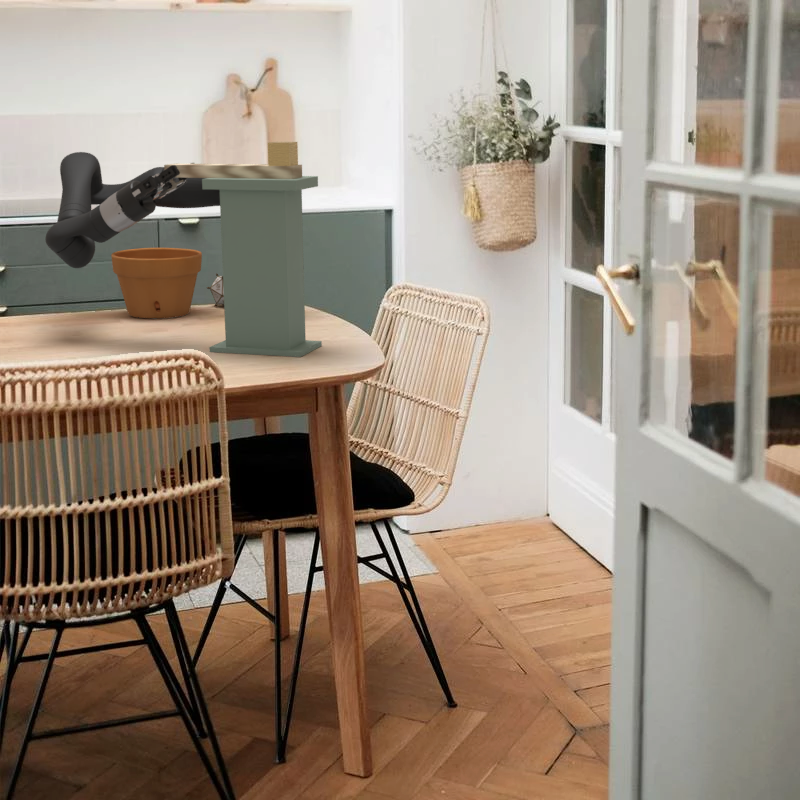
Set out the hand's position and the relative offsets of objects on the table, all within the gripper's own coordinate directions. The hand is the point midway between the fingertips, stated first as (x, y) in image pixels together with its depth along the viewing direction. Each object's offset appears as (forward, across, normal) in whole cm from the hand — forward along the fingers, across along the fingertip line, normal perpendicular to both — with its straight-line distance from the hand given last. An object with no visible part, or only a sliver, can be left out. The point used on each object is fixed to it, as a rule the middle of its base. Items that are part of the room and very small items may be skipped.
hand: (186, 167), depth 264 cm
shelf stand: (-5, 0, -40) cm, 40 cm away
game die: (-32, -48, -24) cm, 63 cm away
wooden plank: (+8, 0, -7) cm, 10 cm away
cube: (+19, 0, -10) cm, 21 cm away
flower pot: (-41, -33, -19) cm, 56 cm away
